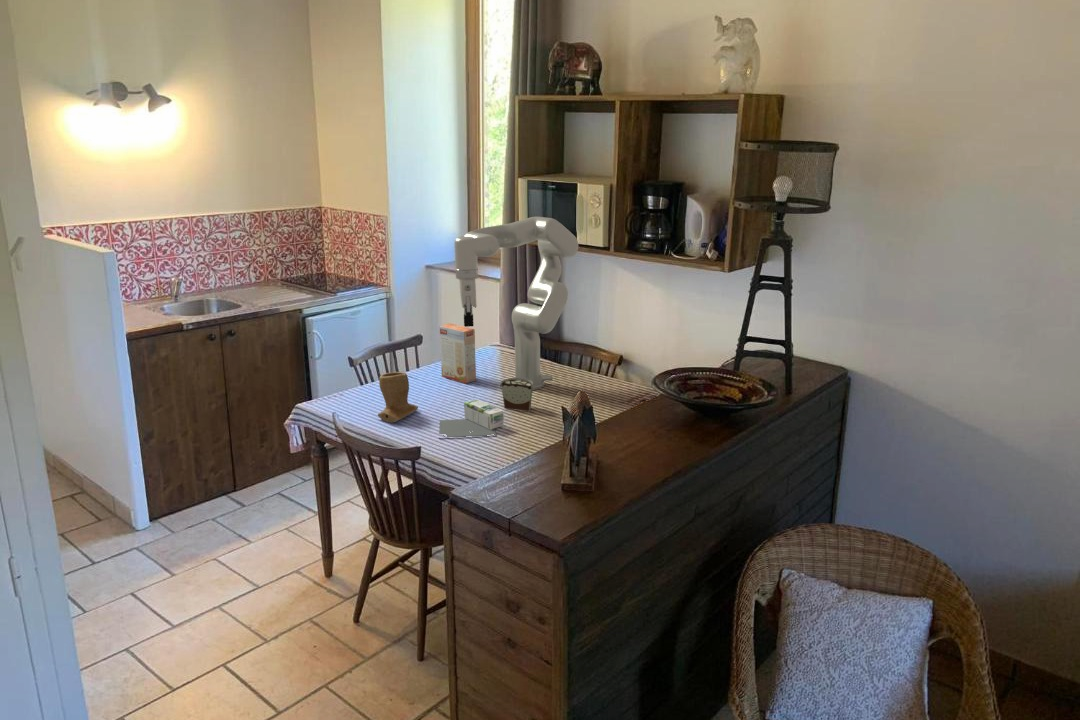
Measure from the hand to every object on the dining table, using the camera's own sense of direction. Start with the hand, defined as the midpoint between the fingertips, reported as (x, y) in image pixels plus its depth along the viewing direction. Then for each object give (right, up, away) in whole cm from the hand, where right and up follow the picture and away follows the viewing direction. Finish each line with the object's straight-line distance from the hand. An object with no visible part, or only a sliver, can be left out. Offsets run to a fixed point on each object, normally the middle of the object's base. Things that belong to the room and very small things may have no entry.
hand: (468, 325), depth 273 cm
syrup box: (+1, -28, -5) cm, 29 cm away
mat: (+1, -34, -13) cm, 37 cm away
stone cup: (-25, -31, -1) cm, 40 cm away
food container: (+18, -29, +6) cm, 34 cm away
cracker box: (-7, -19, +36) cm, 41 cm away
